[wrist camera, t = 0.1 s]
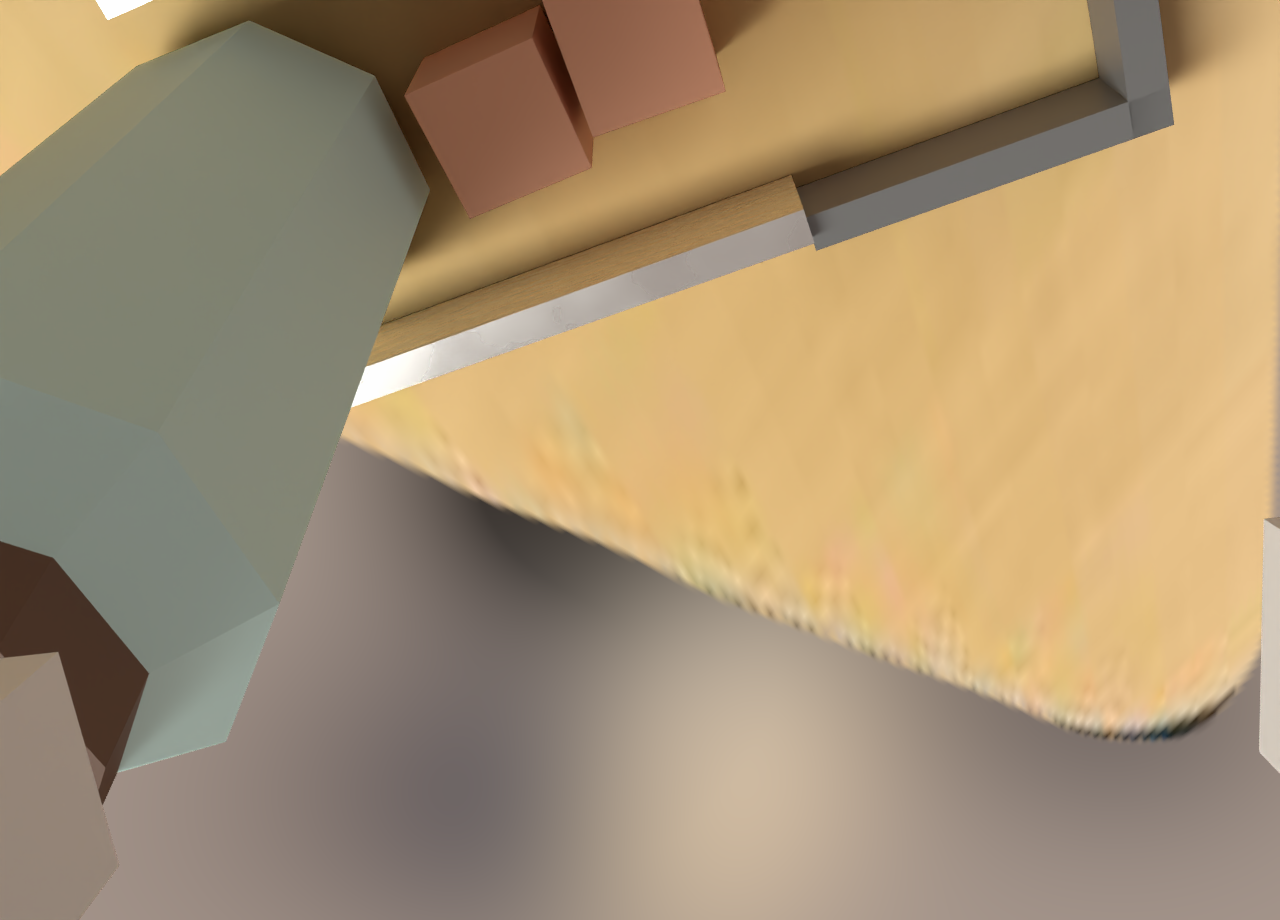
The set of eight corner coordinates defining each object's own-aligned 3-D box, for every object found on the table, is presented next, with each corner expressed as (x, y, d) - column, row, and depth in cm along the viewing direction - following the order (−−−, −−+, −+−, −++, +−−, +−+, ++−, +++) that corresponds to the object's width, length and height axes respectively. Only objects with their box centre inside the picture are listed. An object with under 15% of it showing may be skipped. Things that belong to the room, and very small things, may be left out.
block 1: (540, 4, 35) (531, 37, 32) (594, 124, 37) (591, 168, 34) (423, 57, 36) (403, 95, 33) (482, 171, 38) (469, 218, 35)
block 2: (676, -79, 34) (682, -53, 31) (715, 54, 36) (725, 91, 33) (549, -31, 35) (541, -1, 31) (595, 96, 37) (592, 137, 34)
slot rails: (644, -283, 31) (646, -280, 29) (801, 207, 39) (814, 243, 36) (120, -45, 34) (81, -23, 32) (363, 365, 42) (347, 408, 40)
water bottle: (154, 303, 41) (-332, 960, 20) (91, 3, 35) (-676, 476, 14) (442, 313, 41) (264, 966, 20) (426, 17, 35) (155, 497, 15)
